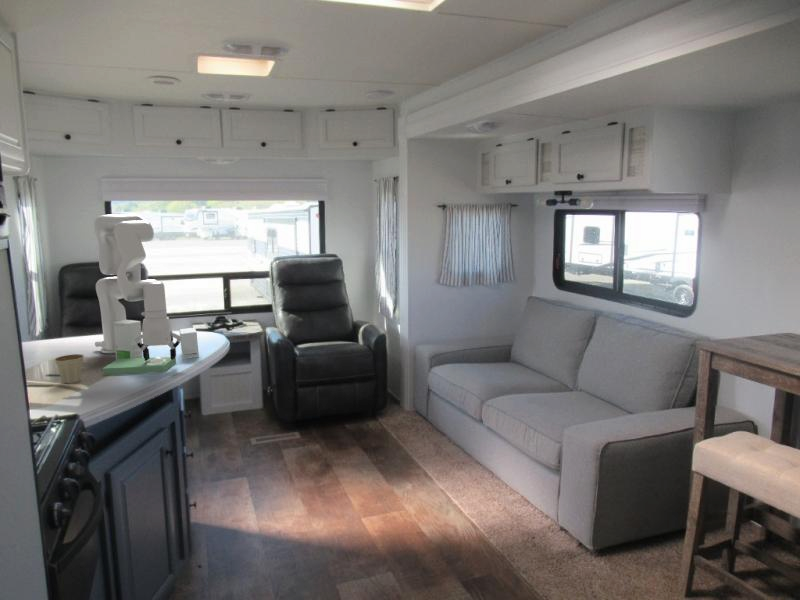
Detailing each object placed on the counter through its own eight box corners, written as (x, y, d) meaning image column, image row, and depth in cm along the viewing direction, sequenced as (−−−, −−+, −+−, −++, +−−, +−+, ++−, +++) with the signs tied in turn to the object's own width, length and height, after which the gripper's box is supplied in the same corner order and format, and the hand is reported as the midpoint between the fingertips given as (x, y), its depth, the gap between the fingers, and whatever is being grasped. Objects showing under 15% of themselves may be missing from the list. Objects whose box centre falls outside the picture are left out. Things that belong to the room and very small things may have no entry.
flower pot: (66, 386, 211) (63, 362, 210) (51, 382, 216) (48, 359, 215) (92, 379, 219) (89, 355, 218) (77, 376, 224) (74, 353, 223)
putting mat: (103, 374, 225) (102, 368, 225) (118, 364, 239) (118, 358, 239) (164, 372, 226) (163, 366, 226) (176, 362, 240) (175, 356, 239)
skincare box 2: (181, 353, 255) (179, 328, 254) (197, 351, 258) (195, 327, 256) (182, 359, 246) (180, 333, 244) (199, 357, 248) (197, 331, 247)
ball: (149, 365, 231) (153, 356, 231) (153, 364, 235) (157, 355, 235) (159, 370, 231) (163, 360, 231) (162, 369, 235) (167, 359, 235)
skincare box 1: (115, 360, 246) (111, 322, 244) (128, 356, 252) (124, 319, 250) (132, 361, 243) (128, 323, 241) (144, 357, 249) (140, 320, 247)
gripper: (128, 317, 226) (133, 362, 228) (176, 315, 226) (180, 360, 229) (136, 313, 233) (140, 357, 236) (182, 312, 234) (186, 356, 236)
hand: (160, 359), depth 232 cm, fingers open, 9 cm apart
